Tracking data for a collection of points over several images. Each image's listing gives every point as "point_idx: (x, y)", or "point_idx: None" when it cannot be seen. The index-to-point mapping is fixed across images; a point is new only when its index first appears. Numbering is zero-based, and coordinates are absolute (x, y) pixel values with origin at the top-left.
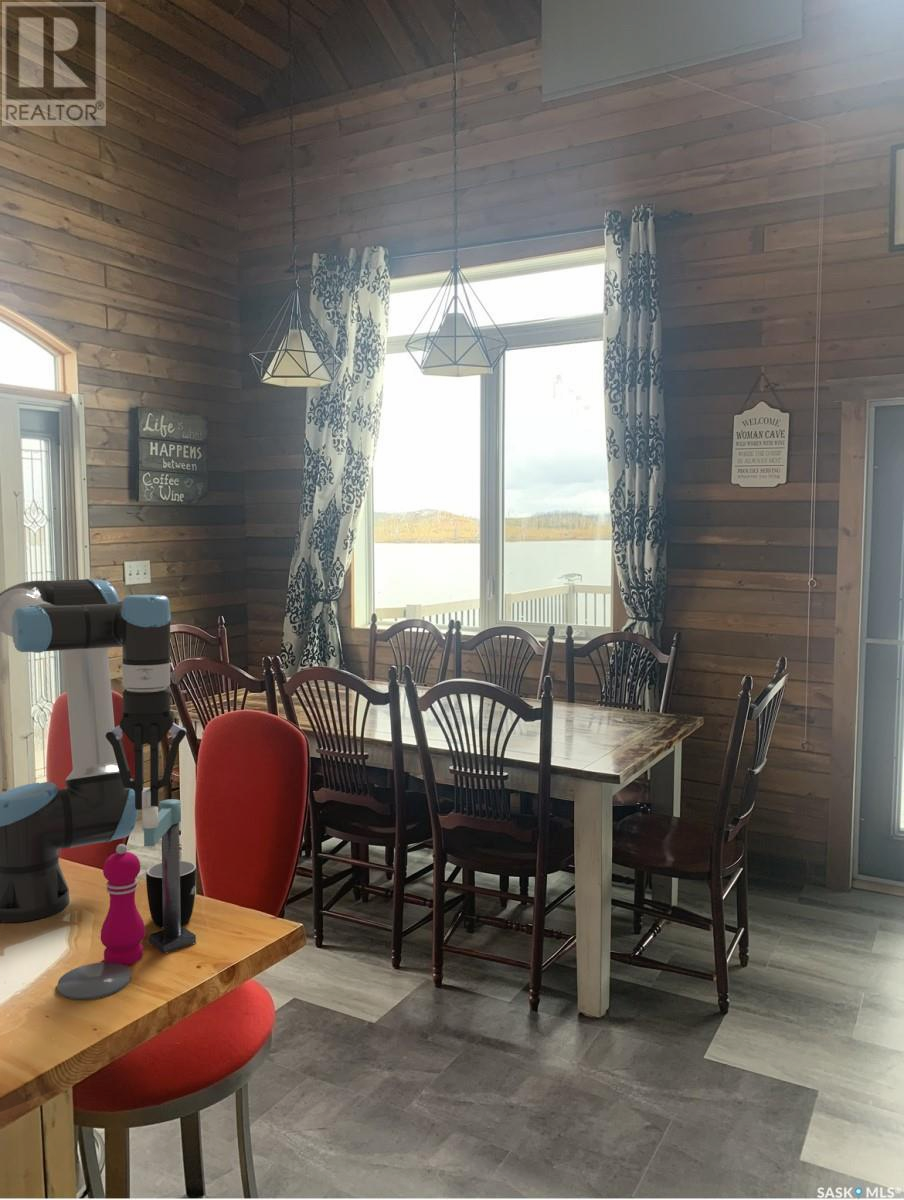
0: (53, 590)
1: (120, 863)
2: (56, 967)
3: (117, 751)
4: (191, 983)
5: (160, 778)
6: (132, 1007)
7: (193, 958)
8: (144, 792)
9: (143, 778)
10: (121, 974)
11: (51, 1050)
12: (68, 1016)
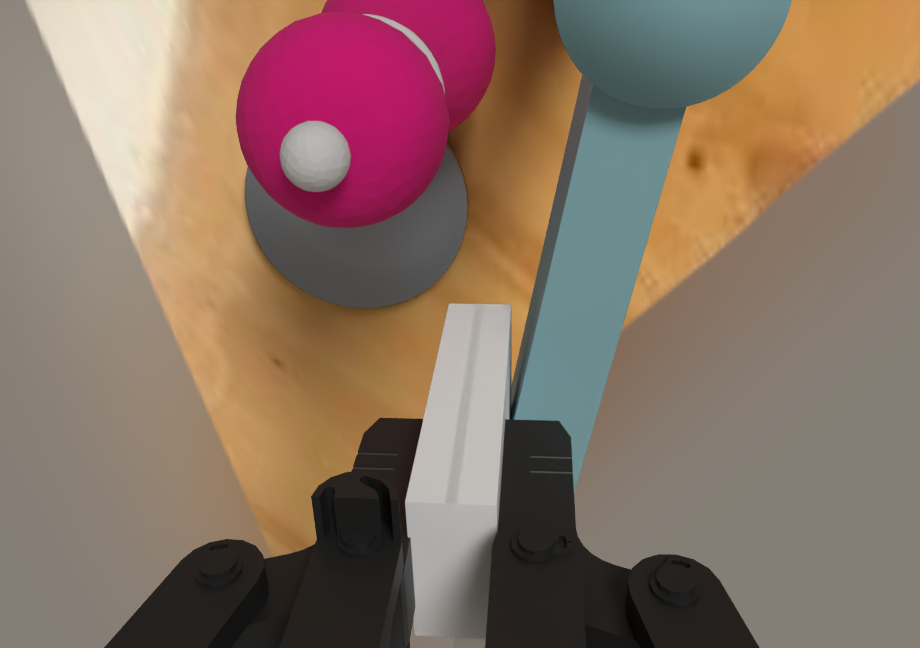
0: None
1: (341, 225)
2: (198, 55)
3: None
4: (664, 274)
5: (603, 631)
6: None
7: None
8: (440, 631)
9: (391, 611)
10: (437, 204)
11: None
12: (332, 375)
